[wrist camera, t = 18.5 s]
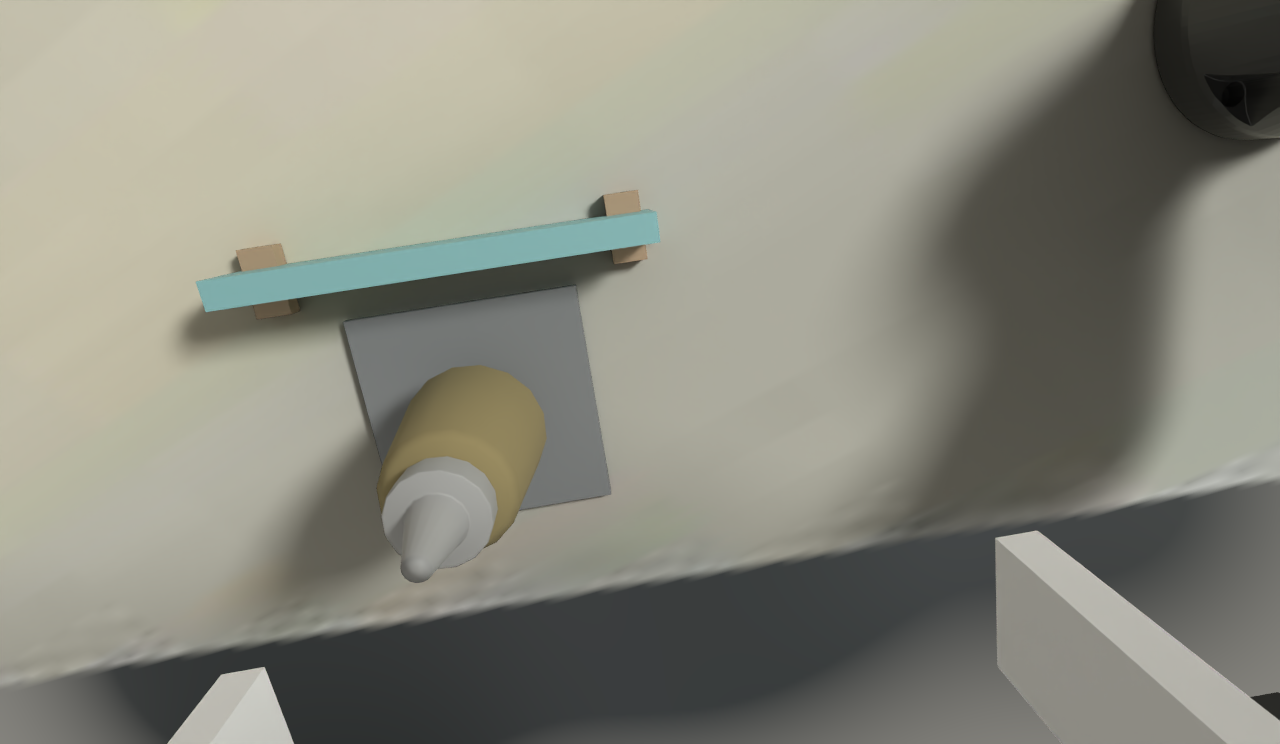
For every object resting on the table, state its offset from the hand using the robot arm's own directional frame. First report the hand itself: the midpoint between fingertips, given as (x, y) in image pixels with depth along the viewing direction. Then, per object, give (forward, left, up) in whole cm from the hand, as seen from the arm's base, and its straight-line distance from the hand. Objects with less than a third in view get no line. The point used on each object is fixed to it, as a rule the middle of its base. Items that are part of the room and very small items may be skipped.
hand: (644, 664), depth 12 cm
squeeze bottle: (+4, -8, -30) cm, 32 cm away
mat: (+4, -8, -31) cm, 32 cm away
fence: (-6, -8, -31) cm, 32 cm away
